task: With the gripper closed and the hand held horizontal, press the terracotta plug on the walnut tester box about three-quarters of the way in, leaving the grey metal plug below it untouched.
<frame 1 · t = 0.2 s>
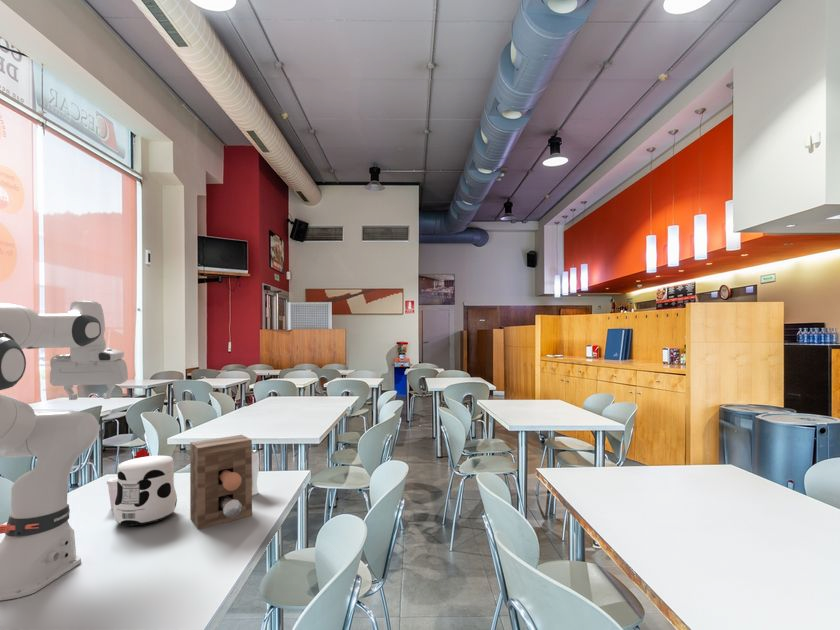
hand: (90, 399, 141), 39 cm above the table, tool pointing down, fingers open, 8 cm apart
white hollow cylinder: (249, 494, 168), on the table
kitchen timer: (141, 489, 176), on the table
milk container: (146, 519, 147), on the table
terracotta plug: (228, 478, 141), point 14 cm above the table, slide at 0.0 cm
grey plug: (228, 504, 141), point 6 cm above the table, slide at 0.0 cm
tester box: (225, 522, 143), on the table
smoothie: (117, 507, 157), on the table
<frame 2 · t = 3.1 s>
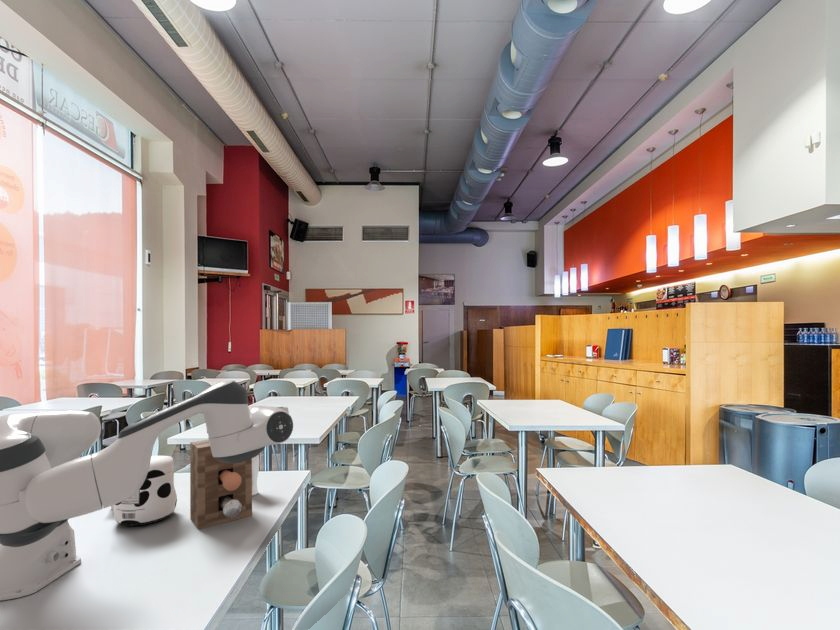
hand: (239, 420, 129), 34 cm above the table, tool horizontal, fingers open, 8 cm apart
nothing on the table moved.
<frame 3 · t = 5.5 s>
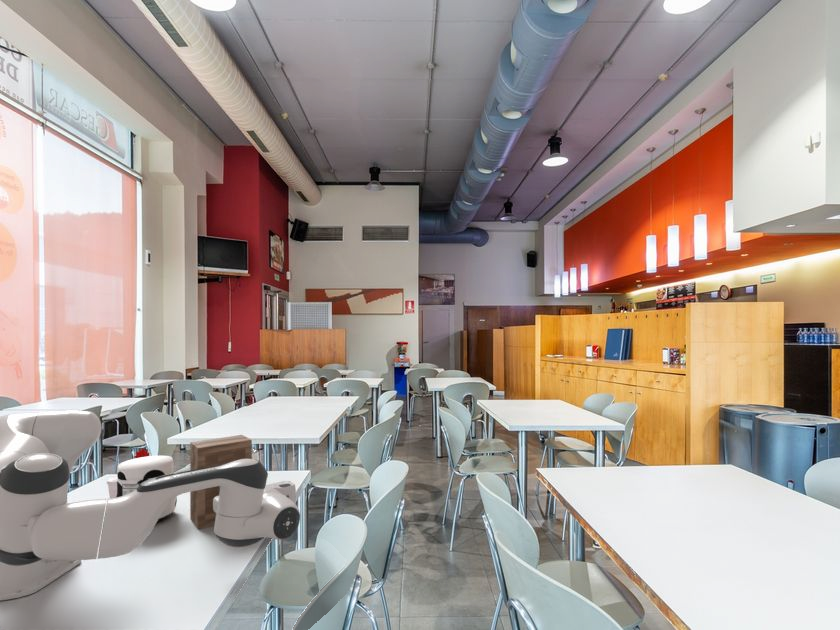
hand: (246, 489, 129), 15 cm above the table, tool horizontal, fingers closed
nothing on the table moved.
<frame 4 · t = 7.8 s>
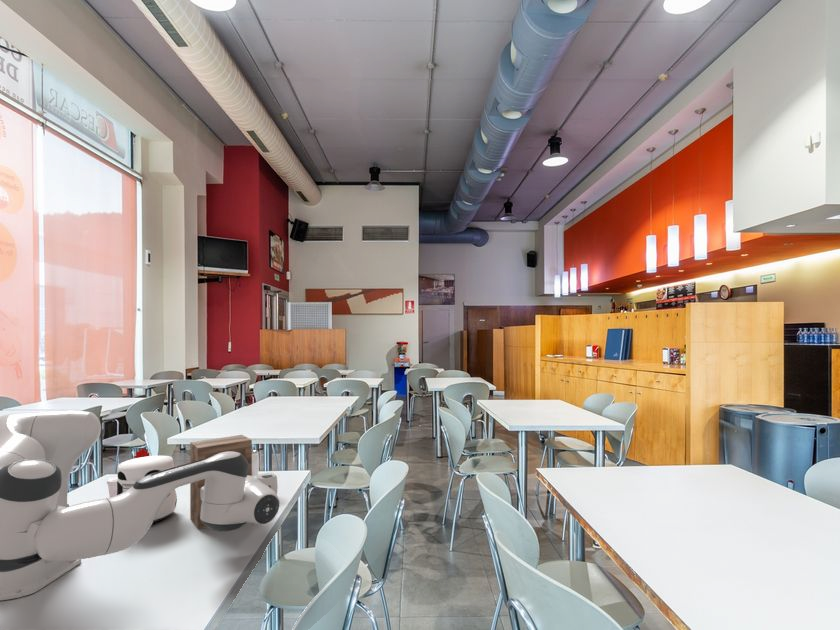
hand: (231, 481, 139), 14 cm above the table, tool horizontal, fingers closed, pressing on terracotta plug
terracotta plug: (227, 477, 142), point 14 cm above the table, slide at 0.9 cm, touching gripper
everything else where it was.
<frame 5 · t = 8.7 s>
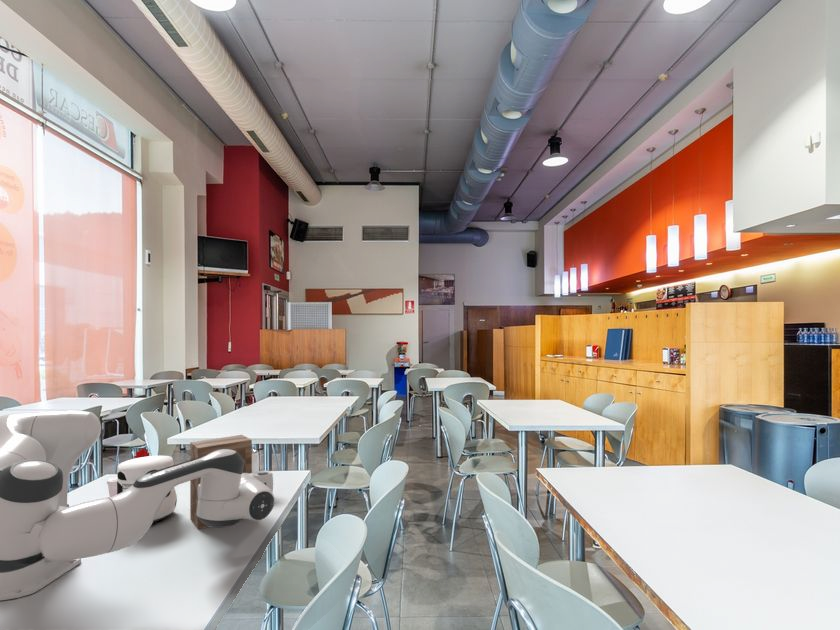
hand: (228, 478, 141), 14 cm above the table, tool horizontal, fingers closed, pressing on terracotta plug
terracotta plug: (224, 475, 145), point 14 cm above the table, slide at 4.2 cm, touching gripper
everything else where it was.
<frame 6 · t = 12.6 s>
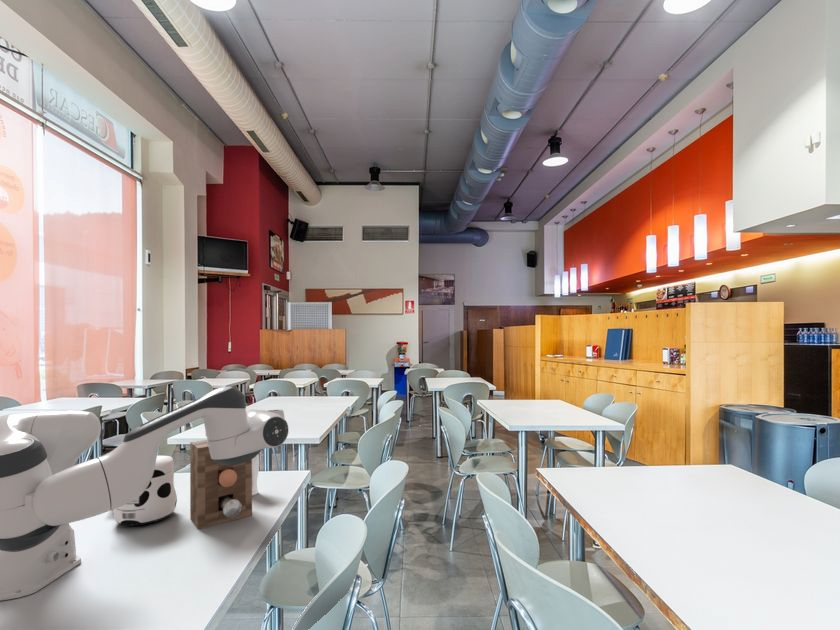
hand: (237, 422, 135), 32 cm above the table, tool horizontal, fingers closed
terracotta plug: (224, 475, 145), point 14 cm above the table, slide at 4.3 cm
everything else where it was.
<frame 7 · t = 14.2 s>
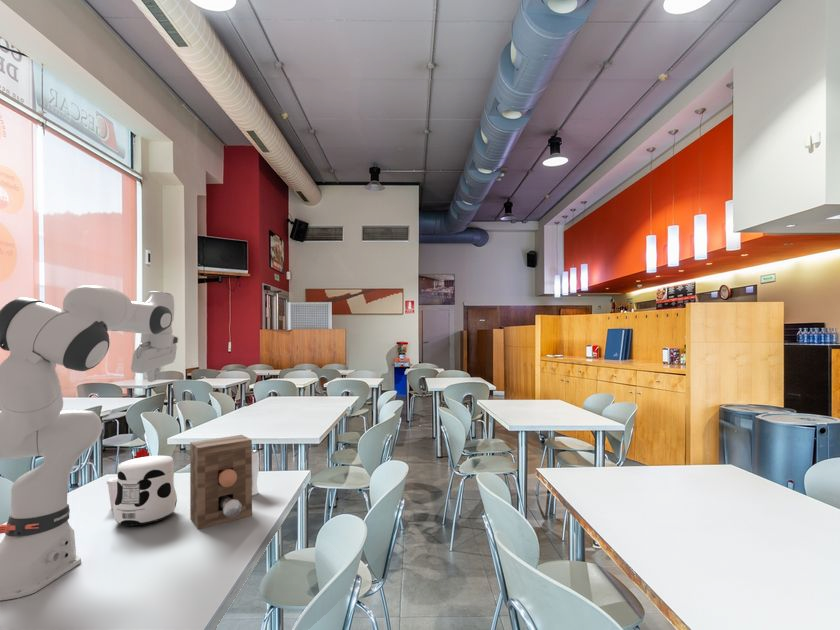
hand: (152, 380, 154), 43 cm above the table, tool pointing down, fingers closed
nothing on the table moved.
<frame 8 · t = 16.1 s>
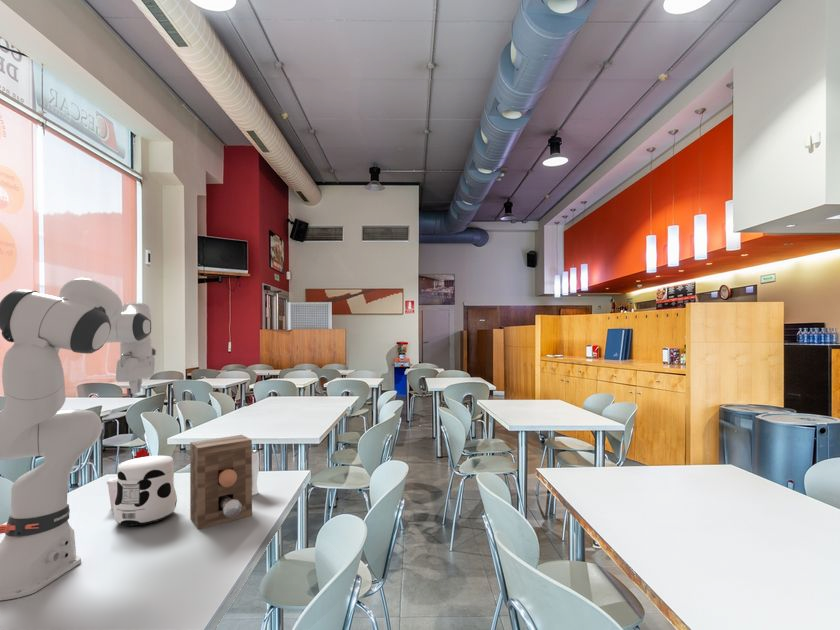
hand: (135, 393, 154), 39 cm above the table, tool pointing down, fingers closed
nothing on the table moved.
at the end: terracotta plug slide at 4.3 cm; grey plug slide at 0.0 cm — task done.
